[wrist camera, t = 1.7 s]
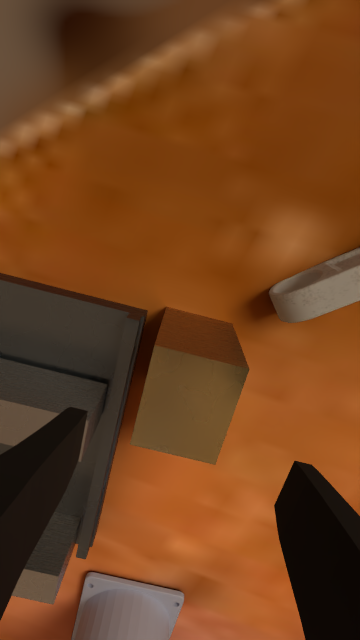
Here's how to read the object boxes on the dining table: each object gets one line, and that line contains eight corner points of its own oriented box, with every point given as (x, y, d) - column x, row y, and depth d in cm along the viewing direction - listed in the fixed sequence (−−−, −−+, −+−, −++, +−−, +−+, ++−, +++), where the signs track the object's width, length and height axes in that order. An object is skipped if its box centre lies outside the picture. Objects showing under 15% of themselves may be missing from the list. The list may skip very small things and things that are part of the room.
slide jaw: (100, 419, 19) (80, 461, 16) (-58, 381, 19) (-112, 416, 16) (107, 384, 18) (88, 420, 15) (-57, 344, 18) (-113, 372, 15)
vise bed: (96, 531, 24) (72, 608, 19) (-62, 495, 24) (-126, 565, 19) (147, 310, 19) (132, 342, 14) (-56, 258, 18) (-145, 272, 13)
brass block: (209, 395, 20) (214, 464, 14) (148, 380, 20) (130, 444, 14) (232, 323, 19) (249, 368, 13) (166, 306, 19) (154, 344, 13)
